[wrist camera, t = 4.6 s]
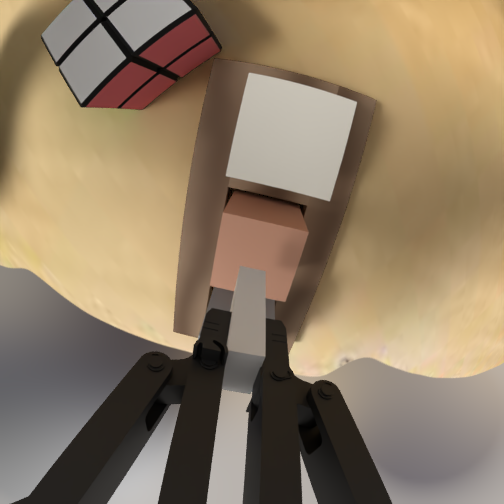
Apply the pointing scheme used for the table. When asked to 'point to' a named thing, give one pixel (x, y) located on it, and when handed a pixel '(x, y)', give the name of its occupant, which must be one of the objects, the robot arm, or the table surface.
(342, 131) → the cream block
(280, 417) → the robot arm
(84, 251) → the table surface
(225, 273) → the terracotta block
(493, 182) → the table surface
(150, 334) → the table surface
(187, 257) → the button board
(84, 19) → the puzzle cube
